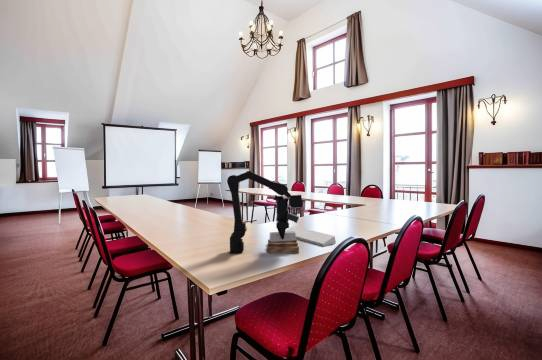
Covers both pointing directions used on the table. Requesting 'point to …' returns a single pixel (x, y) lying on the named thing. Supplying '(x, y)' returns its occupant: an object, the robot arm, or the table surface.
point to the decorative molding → (313, 236)
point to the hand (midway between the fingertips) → (282, 238)
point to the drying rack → (283, 247)
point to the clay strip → (287, 237)
